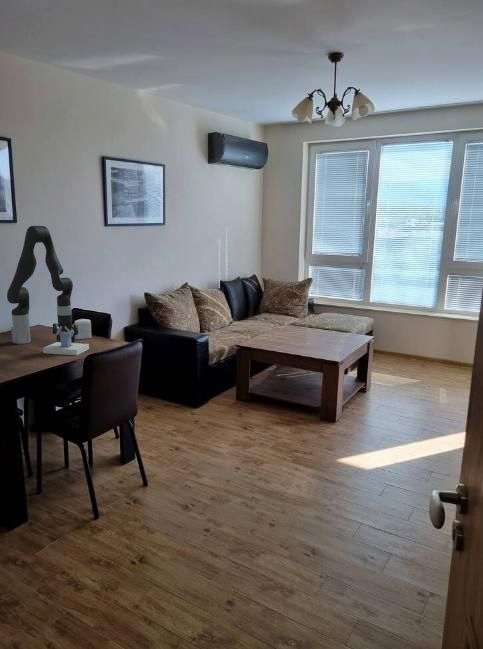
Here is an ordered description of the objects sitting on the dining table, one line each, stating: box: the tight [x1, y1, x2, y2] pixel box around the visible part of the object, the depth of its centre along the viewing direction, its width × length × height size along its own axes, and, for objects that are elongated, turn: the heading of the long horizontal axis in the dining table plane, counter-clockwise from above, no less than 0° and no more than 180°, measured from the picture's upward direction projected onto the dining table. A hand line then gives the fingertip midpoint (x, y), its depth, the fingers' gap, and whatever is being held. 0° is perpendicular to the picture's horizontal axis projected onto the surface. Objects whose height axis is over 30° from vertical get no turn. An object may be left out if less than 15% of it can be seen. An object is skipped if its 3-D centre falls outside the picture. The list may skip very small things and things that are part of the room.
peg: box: [60, 332, 72, 347], centre depth 269 cm, size 4×4×9 cm
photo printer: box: [73, 318, 92, 340], centre depth 300 cm, size 10×4×12 cm, turn 123°
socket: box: [42, 341, 90, 356], centre depth 270 cm, size 20×14×3 cm
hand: (66, 341), depth 269 cm, fingers open, 8 cm apart
